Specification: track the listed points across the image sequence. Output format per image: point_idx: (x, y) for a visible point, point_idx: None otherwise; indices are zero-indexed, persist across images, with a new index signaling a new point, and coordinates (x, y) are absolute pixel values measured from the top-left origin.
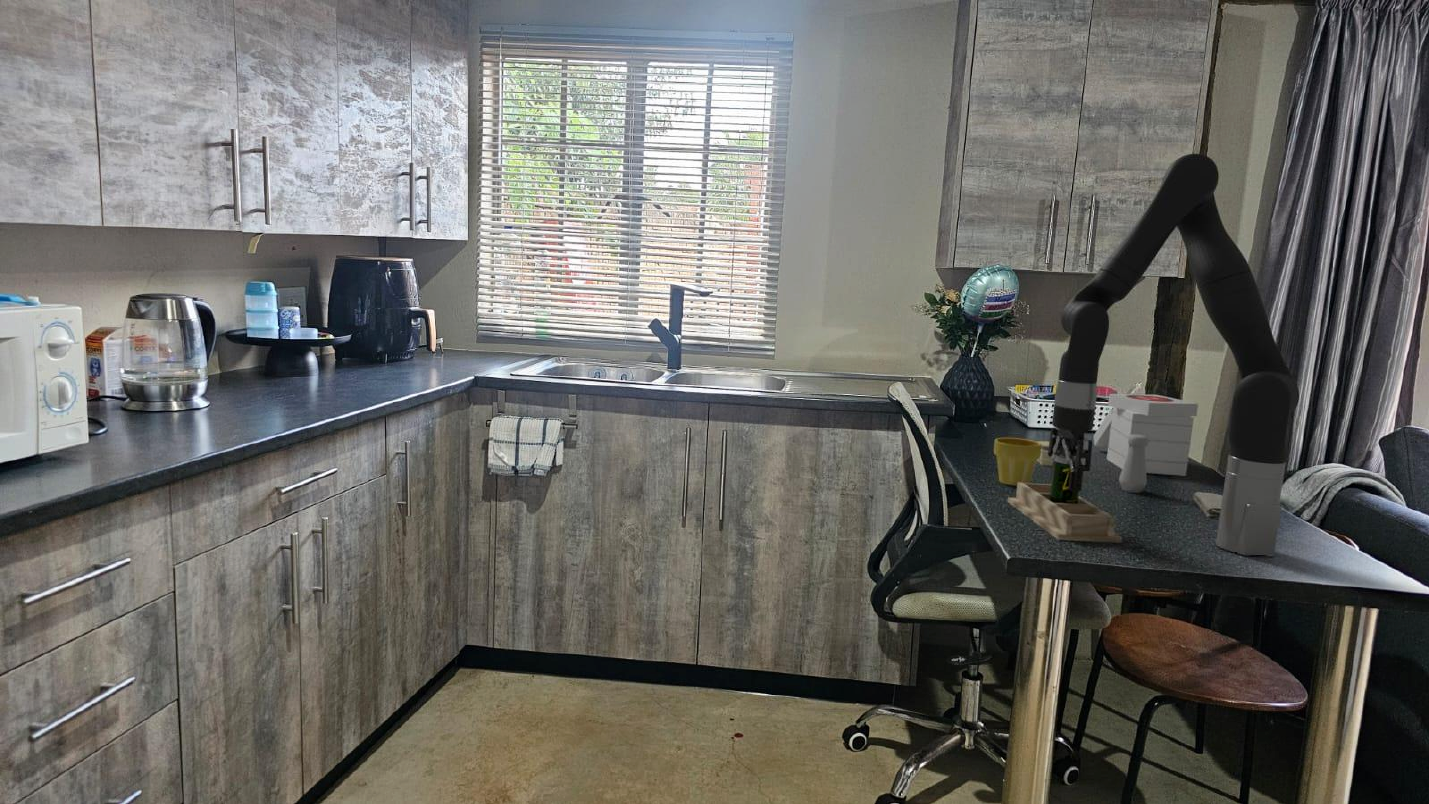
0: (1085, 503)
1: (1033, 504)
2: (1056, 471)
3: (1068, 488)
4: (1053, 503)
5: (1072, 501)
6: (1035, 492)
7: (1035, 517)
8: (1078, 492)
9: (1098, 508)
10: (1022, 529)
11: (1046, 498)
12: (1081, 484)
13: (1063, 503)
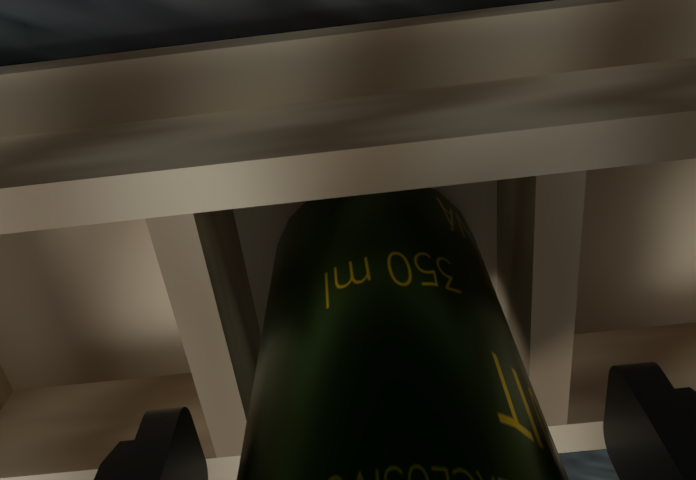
0: (476, 180)
1: None
2: None
3: (608, 454)
4: (550, 430)
5: (498, 301)
6: (226, 469)
7: None
8: (476, 298)
9: (688, 124)
10: (595, 463)
11: None
12: (687, 408)
13: (538, 367)
